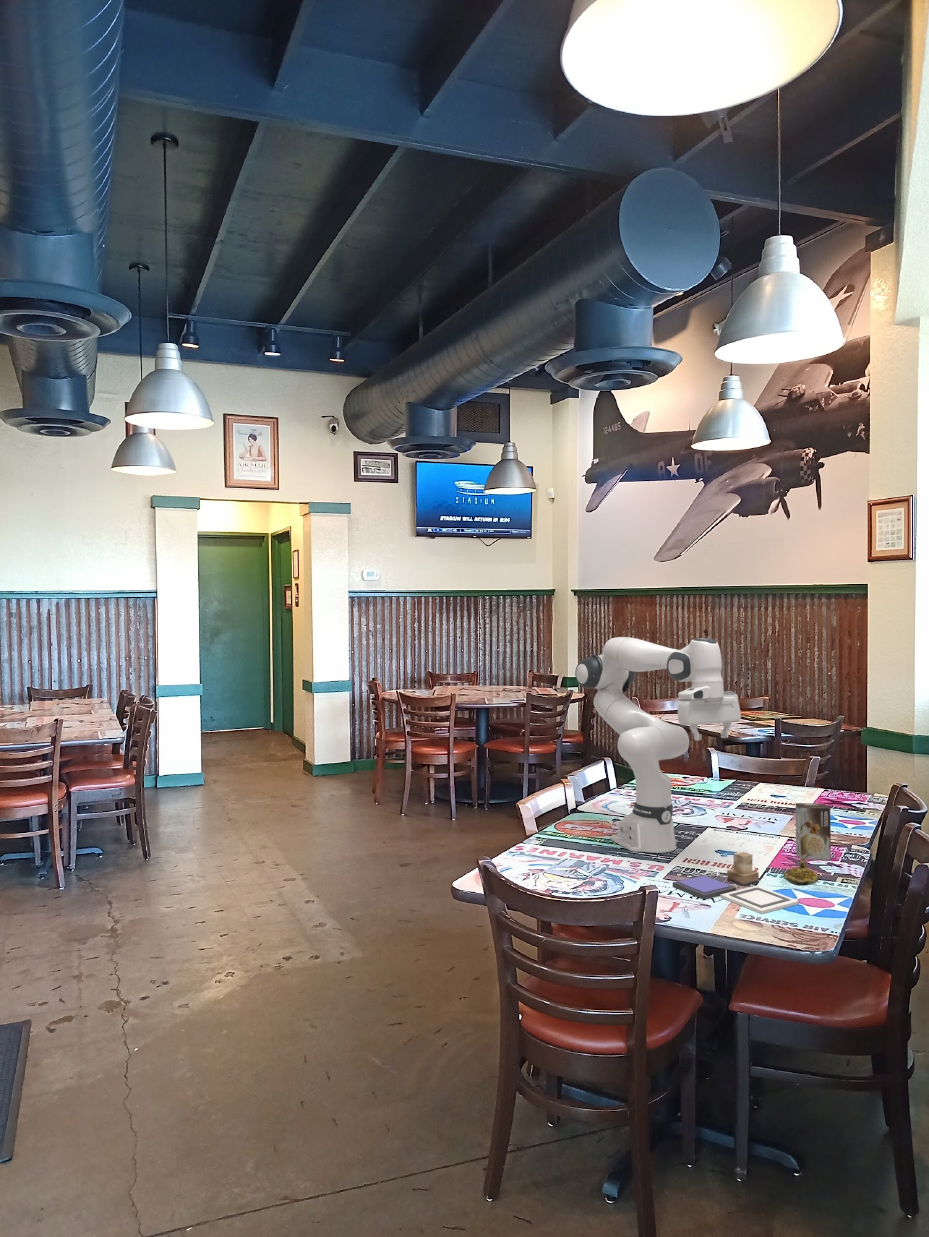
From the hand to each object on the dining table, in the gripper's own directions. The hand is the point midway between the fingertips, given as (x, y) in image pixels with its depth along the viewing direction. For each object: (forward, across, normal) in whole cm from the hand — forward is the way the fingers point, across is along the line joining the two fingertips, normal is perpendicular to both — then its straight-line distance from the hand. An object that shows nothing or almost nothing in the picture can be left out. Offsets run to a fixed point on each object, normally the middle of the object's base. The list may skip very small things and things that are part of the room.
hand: (711, 739), depth 258 cm
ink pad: (+40, +13, +10) cm, 43 cm away
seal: (+41, -18, +12) cm, 46 cm away
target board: (+41, +5, +23) cm, 48 cm away
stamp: (+40, -1, +9) cm, 41 cm away
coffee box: (+39, -36, -1) cm, 53 cm away
